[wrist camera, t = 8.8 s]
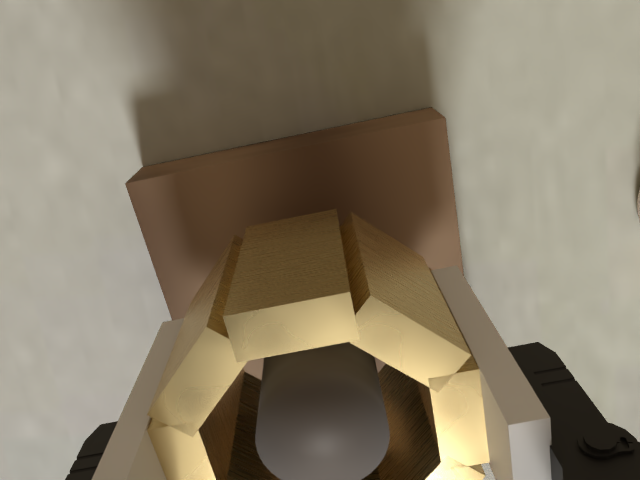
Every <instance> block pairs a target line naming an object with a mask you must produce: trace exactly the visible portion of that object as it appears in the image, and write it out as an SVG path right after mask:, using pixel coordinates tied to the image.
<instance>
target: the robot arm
mask: <svg viewBox="0 0 640 480" xmlns="http://www.w3.org/2000/svg"><path fill="white" fill-rule="evenodd" d="M431 273H432V275H433V277H434V279H435V281H436V283H437V285H438V287H439V289H440V291H441V293H442V295H443V297H444V299H445V301H446V303H447V305H448V307H449V309H450V311H451V313H452V315H453V317H454V319H455V321H456V323H457V325H458V327H459V329H460V331H461V333H462V335H463V337H464V339H465V341H466V343H467V345H468V347H469V349H470V351H471V353H472V355H473V357H474V359H475V361H476V364H477V366H478V368H479V371H480V380H481V389H482V398H483V407H484V416H485V425H486V433H487V442H488V451H489V460H490V462H489V464H490V467H491V469H492V472H493V474H494V476H495V479H496V480H640V442H638V441H637V439H636V438H635V437H634V436H632V435H631V434H630V433H629V432H628V431H627V430H625V429H623V428H621V427H618V426H616V425H614V424H612V423H608V422H607V421H606V420H605V418H604V417H603V416H602V414H601V413H600V412H599V410H598V409H597V408H596V406H595V405H594V404H593V402H592V401H591V399H590V398H589V397H588V395H587V394H586V393H585V391H584V390H583V389H582V387H581V386H580V385H579V383H578V382H577V381H575V379H574V377H573V375H572V374H571V373H570V371H569V370H568V369H566V366H565V365H564V363H563V362H562V361H561V359H560V358H559V357H558V355H557V354H556V352H554V351H552V350H550V349H549V348H547V347H545V346H544V345H542V344H540V343H539V342H535V343H530V344H525V345H519V346H514V347H508V348H507V346H506V344H505V343H504V341H503V340H502V338H501V336H500V335H499V333H498V331H497V330H496V328H495V326H494V325H493V323H492V322H491V320H490V318H489V317H488V315H487V313H486V312H485V310H484V309H483V307H482V305H481V304H480V302H479V300H478V299H477V297H476V295H475V294H474V292H473V291H472V289H471V287H470V286H469V284H468V282H467V281H466V279H465V277H464V276H463V274H462V273H461V271H460V269H459V268H458V266H457V265H456V266H451V267H446V268H441V269H436V270H431ZM183 321H184V318H182V319H177V320H172V321H167V322H163V323H162V325H161V327H160V329H159V332H158V334H157V336H156V338H155V340H154V343H153V345H152V347H151V349H150V352H149V354H148V356H147V358H146V360H145V363H144V365H143V367H142V369H141V371H140V374H139V376H138V378H137V380H136V382H135V385H134V387H133V389H132V391H131V394H130V396H129V398H128V400H127V402H126V405H125V407H124V409H123V411H122V413H121V416H120V418H119V420H118V421H117V422H112V423H106V424H101V425H100V426H99V427H98V428H97V429H96V430H95V431H94V432H93V433H92V434H91V435H90V436H89V437H88V438H87V439H86V440H85V442H84V444H83V446H82V448H81V450H80V452H79V454H78V456H77V460H76V461H75V462H74V463H73V465H72V467H71V469H70V474H68V475H67V477H66V479H65V480H167V479H166V477H165V474H164V472H163V469H162V467H161V464H160V462H159V459H158V457H157V454H156V452H155V449H154V447H153V444H152V442H151V439H150V437H149V434H148V432H147V428H148V426H149V423H150V420H151V418H152V417H150V416H148V415H147V413H148V411H149V408H150V405H151V403H152V400H153V398H154V395H155V393H156V390H157V387H158V385H159V382H160V380H161V377H162V375H163V372H164V369H165V367H166V364H167V362H168V359H169V357H170V354H171V351H172V349H173V346H174V344H175V341H176V339H177V336H178V334H179V331H180V328H181V326H182V323H183Z"/></svg>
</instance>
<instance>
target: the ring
mask: <svg viewBox="0 0 640 480" xmlns="http://www.w3.org/2000/svg"><path fill="white" fill-rule="evenodd" d="M345 342H349V343H351V344H353V345H355V346H357V347H358V348H360V349H362V350H364V351H365V352H367V353H369V354H371V355H373V356H374V357H376V358H378V359H380V360H381V361H383V362H385V363H386V364H385V365H384V366H383V368H382V369H381V370H380V371H379V373H378V377H379V381H380V386H381V391H382V396H383V400H384V405H385V410H386V415H387V420H388V424H389V431H390V439H389V445H388V449H387V451H386V454H385V456H384V458H383V459H382V461H381V462H380V464H379V465H378V466H377V467H376V468H375V469H374V470H373V471H372V472H371V473H370V474H369V475H367V476H366V477H365V478H363V479H361V480H482V479H483V478H484V477H485V473H484V471H483V468H482V466H481V464H483V463H489V462H490V460H489V451H488V442H487V433H486V425H485V416H484V407H483V398H482V389H481V380H480V371H479V368H478V366H477V364H476V361H475V359H474V357H473V355H472V353H471V351H470V349H469V347H468V345H467V343H466V341H465V339H464V337H463V335H462V333H461V331H460V329H459V327H458V325H457V323H456V321H455V319H454V317H453V315H452V313H451V311H450V309H449V307H448V305H447V303H446V301H445V299H444V297H443V295H442V293H441V291H440V289H439V287H438V285H437V283H436V281H435V279H434V277H433V275H432V273H431V268H428V266H427V264H426V262H425V260H424V258H423V256H421V255H419V254H418V253H416V252H415V251H413V250H411V249H410V248H408V247H407V246H405V245H403V244H402V243H400V242H399V241H397V240H395V239H394V238H392V237H391V236H389V235H388V234H386V233H384V232H383V231H381V230H380V229H378V228H376V227H375V226H373V225H372V224H370V223H368V222H367V221H365V220H364V219H362V218H361V217H359V216H357V215H356V214H354V213H353V212H351V211H350V213H349V214H348V216H347V217H346V218H345V220H344V221H343V223H342V224H341V225H339V220H338V215H337V211H336V209H332V210H327V211H322V212H317V213H312V214H307V215H302V216H297V217H292V218H287V219H282V220H277V221H272V222H267V223H262V224H257V225H252V226H247V227H246V231H245V234H244V238H243V239H242V238H240V237H238V236H237V235H234V236H233V238H232V239H231V241H230V242H229V244H228V246H227V247H226V249H225V250H224V252H223V253H222V255H221V256H220V258H219V259H218V261H217V262H216V264H215V266H214V267H213V269H212V270H211V272H210V273H209V275H208V276H207V278H206V279H205V281H204V282H203V284H202V286H201V287H200V289H199V290H198V292H197V293H196V295H195V296H194V298H193V299H192V301H191V303H190V305H189V308H188V310H187V313H186V316H185V318H184V321H183V323H182V326H181V328H180V331H179V334H178V336H177V339H176V341H175V344H174V346H173V349H172V351H171V354H170V357H169V359H168V362H167V364H166V367H165V369H164V372H163V375H162V377H161V380H160V382H159V385H158V387H157V390H156V393H155V395H154V398H153V400H152V403H151V405H150V408H149V411H148V413H147V415H148V416H150V417H152V418H151V420H150V423H149V426H148V428H147V432H148V434H149V437H150V439H151V442H152V444H153V447H154V449H155V452H156V454H157V457H158V459H159V462H160V464H161V467H162V469H163V472H164V474H165V477H166V479H167V480H281V479H279V478H278V477H276V476H275V475H274V474H272V473H271V472H270V471H269V470H268V469H267V467H266V466H265V465H264V464H263V462H262V460H261V459H260V457H259V454H258V452H257V448H256V443H255V434H256V425H257V416H258V407H259V398H260V389H261V380H260V379H258V378H256V377H255V376H253V375H251V374H249V373H247V372H245V371H244V366H245V364H246V363H247V362H248V361H249V360H255V359H260V358H265V357H271V356H276V355H281V354H286V353H292V352H297V351H302V350H308V349H313V348H318V347H324V346H329V345H334V344H340V343H345Z"/></svg>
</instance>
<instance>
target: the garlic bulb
mask: <svg viewBox="0 0 640 480" xmlns="http://www.w3.org/2000/svg"><path fill="white" fill-rule="evenodd" d="M637 208H638V216H639V221H640V189H639V194H638V200H637Z"/></svg>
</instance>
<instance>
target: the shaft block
mask: <svg viewBox="0 0 640 480" xmlns="http://www.w3.org/2000/svg"><path fill="white" fill-rule="evenodd" d="M125 184H126V187H127V190H128V193H129V196H130V199H131V202H132V205H133V208H134V210H135V213H136V216H137V219H138V222H139V225H140V228H141V231H142V234H143V237H144V239H145V242H146V245H147V248H148V251H149V254H150V257H151V260H152V263H153V266H154V268H155V271H156V274H157V277H158V280H159V283H160V286H161V289H162V292H163V295H164V298H165V300H166V303H167V306H168V309H169V312H170V315H171V318H172V320H177V319H182V318H185V316H186V313H187V310H188V308H189V305H190V303H191V301H192V299H193V298H194V296H195V295H196V293H197V292H198V290H199V289H200V287H201V286H202V284H203V282H204V281H205V279H206V278H207V276H208V275H209V273H210V272H211V270H212V269H213V267H214V266H215V264H216V262H217V261H218V259H219V258H220V256H221V255H222V253H223V252H224V250H225V249H226V247H227V246H228V244H229V242H230V241H231V239H232V238H233V236H234V235H237V236H238V237H240V238H242V239H243V238H244V234H245V231H246V227H247V226H252V225H257V224H262V223H267V222H272V221H277V220H282V219H287V218H292V217H297V216H302V215H307V214H312V213H317V212H322V211H327V210H332V209H336V211H337V215H338V220H339V225H341V224H342V223H343V221H344V220H345V218H346V217H347V216H348V214H349V213H350V211H351V212H353V213H354V214H356V215H357V216H359V217H361V218H362V219H364V220H365V221H367V222H368V223H370V224H372V225H373V226H375V227H376V228H378V229H380V230H381V231H383V232H384V233H386V234H388V235H389V236H391V237H392V238H394V239H395V240H397V241H399V242H400V243H402V244H403V245H405V246H407V247H408V248H410V249H411V250H413V251H415V252H416V253H418V254H419V255H421V256H423V258H424V260H425V262H426V264H427V266H428V268H431V270H436V269H441V268H446V267H451V266H456V265H457V266H458V268H459V269H460V271H461V273H462V274H463V276H464V273H463V265H462V256H461V248H460V239H459V230H458V222H457V213H456V205H455V196H454V187H453V179H452V170H451V162H450V153H449V144H448V136H447V127H446V119H445V117H444V116H442V115H441V114H440V113H438V112H437V111H436V110H434V109H433V108H432V107H431V108H426V109H421V110H416V111H411V112H406V113H402V114H397V115H392V116H387V117H382V118H378V119H373V120H368V121H363V122H358V123H353V124H349V125H344V126H339V127H334V128H329V129H324V130H320V131H315V132H310V133H305V134H300V135H295V136H291V137H286V138H281V139H276V140H271V141H266V142H262V143H257V144H252V145H247V146H242V147H237V148H233V149H228V150H223V151H218V152H213V153H208V154H204V155H199V156H194V157H189V158H184V159H179V160H175V161H170V162H165V163H160V164H155V165H151V166H146V167H142V168H141V169H140V170H139V171H138V172H137V173H136V174H135V175H134V176H133V177H132V178H131V179H129V180H128V181H127V182H126V183H125ZM385 364H386V363H385V362H383V361H381V360H380V359H378V358H376V357H374V356H373V355H371V354H369V353H367V352H365V351H364V350H362V349H360V348H358V347H357V346H355V345H353V344H351V343H349V342H345V343H340V344H334V345H329V346H324V347H318V348H313V349H308V350H302V351H297V352H292V353H286V354H281V355H276V356H271V357H265V358H260V359H255V360H249V361H248V362H247V363H246V364H245V366H244V371H245V372H247V373H249V374H251V375H253V376H255V377H256V378H258V379H260V380H261V389H260V398H259V407H258V416H257V425H256V434H255V443H256V448H257V452H258V454H259V457H260V459H261V460H262V462H263V464H264V465H265V466H266V467H267V469H268V470H269V471H270V472H271V473H272V474H274V475H275V476H276V477H278V478H279V479H281V480H361V479H363V478H365V477H366V476H367V475H369V474H370V473H371V472H372V471H373V470H374V469H375V468H376V467H377V466H378V465H379V464H380V462H381V461H382V459H383V458H384V456H385V454H386V451H387V449H388V445H389V439H390V431H389V424H388V420H387V415H386V410H385V405H384V400H383V396H382V391H381V386H380V381H379V377H378V373H379V371H380V370H381V369H382V368H383V366H384V365H385Z"/></svg>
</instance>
